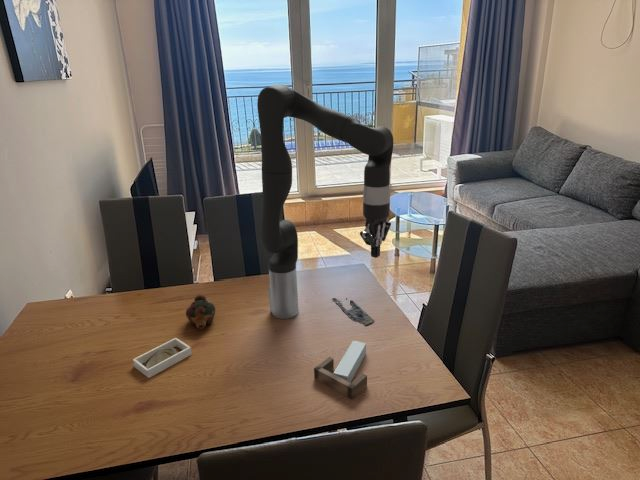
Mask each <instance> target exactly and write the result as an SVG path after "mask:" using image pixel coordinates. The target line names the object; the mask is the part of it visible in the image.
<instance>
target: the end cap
mask: <svg viewBox="0 0 640 480" xmlns="http://www.w3.org/2000/svg"><path fill="white" fill-rule="evenodd" d="M334 363H335V362H334V358H333V357H330V356H328V357H327V358H326V359H325V360H322V362H320V363H319V364H318V365H316V366H315V367H314V368H313V374H314V375H313V376H314V377H313V378H314V380H316V381H317V382H319V383H322V384H323V385H325V386H327V387H329V388H331V389H332V390H334V391H336V392H338V393H340V395H341V394H342V395H343V396H344V397H347V398H349V399H350V400H354V399H355V398H356V397H357V396H358V395H359V394H361V392H362V391H364V390H365V389H366V388H367V387H368V375H367V374H365V373H361V374H360V375H359V376H357V377H356V378H355V379H354V380H352V381H351V383H350V382H348V381H346V380H344V379H342V378H340V377H339V376H337V375H335V374H333V373H334V372H333V373H332V371H334V365H335V364H334Z"/></svg>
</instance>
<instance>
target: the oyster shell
mask: <svg viewBox="0 0 640 480" xmlns="http://www.w3.org/2000/svg"><path fill="white" fill-rule="evenodd" d="M177 353H179V350H178V349H176V348H175V347H173V348H172V347H167V348H165V349H162V350H159V351H157V352H156V353H155V354H154V355H152V356H151V357H150V358H149V359H148V360H147V361H146V362H145V363H143V365H144V366H145V367H146V368H147V369H149V368H151V367H153V366H154V365H156V364H158V363H160V362H162V361H164V360H166V359H167V358H169V357H171V356H173V355H175V354H177Z"/></svg>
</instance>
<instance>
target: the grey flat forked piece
mask: <svg viewBox="0 0 640 480" xmlns="http://www.w3.org/2000/svg"><path fill="white" fill-rule="evenodd" d="M345 298H346V300H345V301H347V300H348V297H345ZM331 300H332V301H333V302H334V303H335V302H336V303H335V304H336V305H337V306H338V307H339V308H340V309H341V310H342V311H343V312H344V313H345V315H346V316H347V317H348V318H349V319H350V320H351V321H353V322H355V323H359V325H363V326H364V327H366V326H367V325H369V324H370V323H374V322H375V320H374V319H373V318H372V317H371V316H370V315H369V314H368V313H367V312H365V310H363V308H361V306H360V305H358V304H357V303H356V302H355V301H354V300H352V299H349V300H350V303H349V306H350V305H351V306H352V307H351V306H350V307H351V308H350V309H347V308H345V306H344V305H343V303H342V301H341V300H339V299H338V298H336V297H332V298H331ZM337 302H338V303H337Z"/></svg>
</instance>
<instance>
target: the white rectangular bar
mask: <svg viewBox="0 0 640 480" xmlns="http://www.w3.org/2000/svg"><path fill="white" fill-rule="evenodd" d="M366 354H367V343H366V342H362V341H359V340H358V341H356V340H352V342H351V344H350V345H349V347H348V348H347V349H346V351H345V353H344V355H343V356H342V358H341V360H340V362H339V363H338V364H337V367H336V368H335V370H333V371H334V372H333V374H335V375H337V376H339V377H340V378H342V379H344V380H346V381H348V382H350V383H352V382H353V379H354V378H355V377H354V376H355V375H356V373H357V371H358V370H359V367H360V366H361V364H362V362H363V360H364V358H365V357H366Z"/></svg>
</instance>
